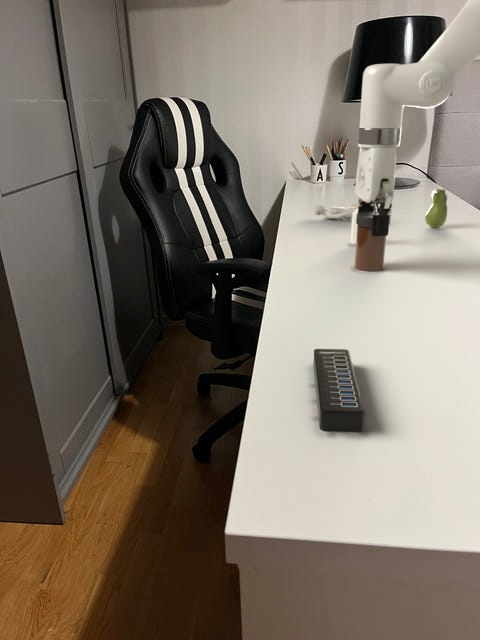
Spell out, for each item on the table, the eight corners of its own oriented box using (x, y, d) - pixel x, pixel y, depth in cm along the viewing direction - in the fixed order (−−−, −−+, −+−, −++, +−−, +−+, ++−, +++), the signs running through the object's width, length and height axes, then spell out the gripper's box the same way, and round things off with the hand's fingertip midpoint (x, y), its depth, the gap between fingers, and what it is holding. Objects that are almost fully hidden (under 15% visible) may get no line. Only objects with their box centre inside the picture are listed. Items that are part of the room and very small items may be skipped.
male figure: (390, 210, 137) (311, 208, 143) (389, 224, 138) (310, 221, 145) (392, 204, 146) (317, 201, 152) (391, 217, 147) (316, 214, 154)
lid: (362, 228, 96) (363, 218, 95) (351, 221, 102) (351, 212, 101) (393, 226, 97) (394, 217, 96) (380, 219, 102) (381, 211, 102)
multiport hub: (319, 430, 51) (320, 411, 50) (313, 364, 65) (313, 348, 64) (363, 432, 51) (365, 412, 50) (347, 364, 64) (348, 348, 63)
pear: (446, 229, 132) (452, 190, 128) (425, 229, 133) (430, 190, 129) (443, 225, 137) (448, 187, 133) (422, 224, 138) (427, 187, 134)
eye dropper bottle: (372, 246, 117) (377, 194, 113) (348, 244, 119) (352, 193, 115) (376, 242, 121) (380, 191, 116) (352, 240, 123) (356, 190, 118)
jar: (379, 262, 105) (383, 215, 101) (386, 271, 100) (391, 221, 96) (351, 263, 105) (354, 216, 101) (357, 271, 100) (361, 222, 96)
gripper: (347, 136, 101) (342, 221, 108) (374, 141, 85) (366, 241, 92) (383, 135, 101) (376, 220, 108) (417, 140, 85) (406, 240, 92)
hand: (371, 230), depth 100 cm, fingers open, 8 cm apart
